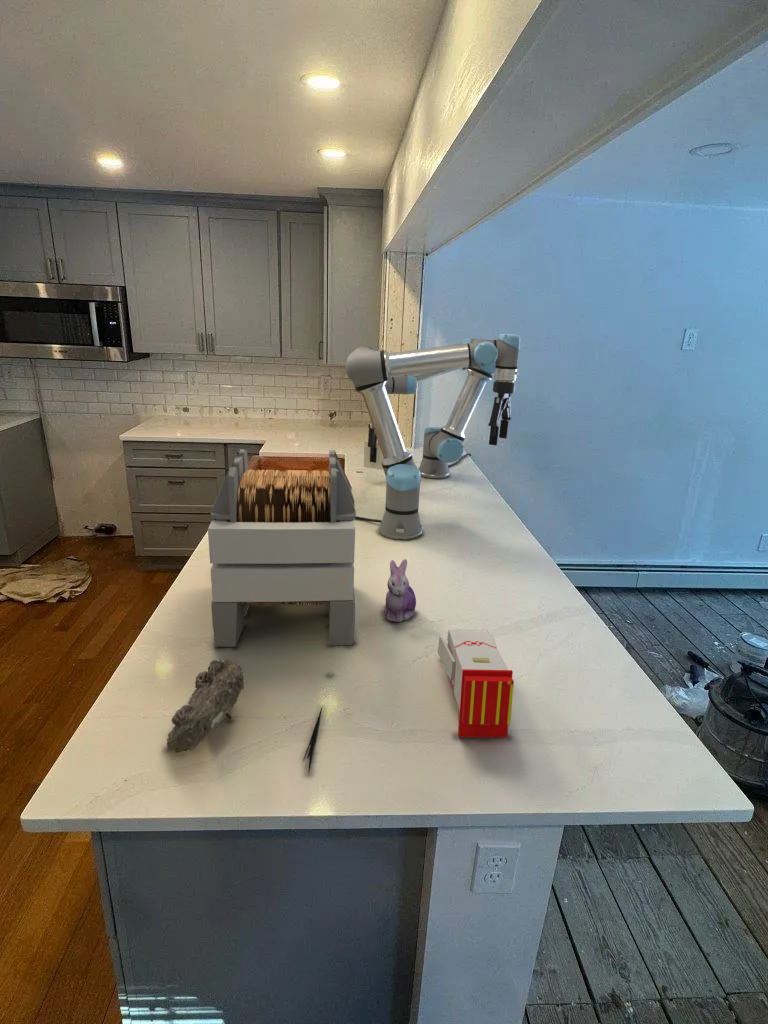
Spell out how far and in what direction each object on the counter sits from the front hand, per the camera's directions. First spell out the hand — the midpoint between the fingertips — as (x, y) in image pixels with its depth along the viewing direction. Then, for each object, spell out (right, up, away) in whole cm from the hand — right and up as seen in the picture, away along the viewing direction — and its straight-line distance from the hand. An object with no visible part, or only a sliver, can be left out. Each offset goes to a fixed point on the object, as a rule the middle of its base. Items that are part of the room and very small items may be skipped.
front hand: (497, 441), depth 203 cm
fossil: (-74, -64, -95) cm, 136 cm away
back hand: (-44, -3, +46) cm, 64 cm away
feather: (-53, -65, -94) cm, 126 cm away
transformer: (-66, -51, -57) cm, 101 cm away
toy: (-23, -63, -85) cm, 108 cm away
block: (-44, -5, +47) cm, 65 cm away
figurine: (-37, -52, -56) cm, 85 cm away
